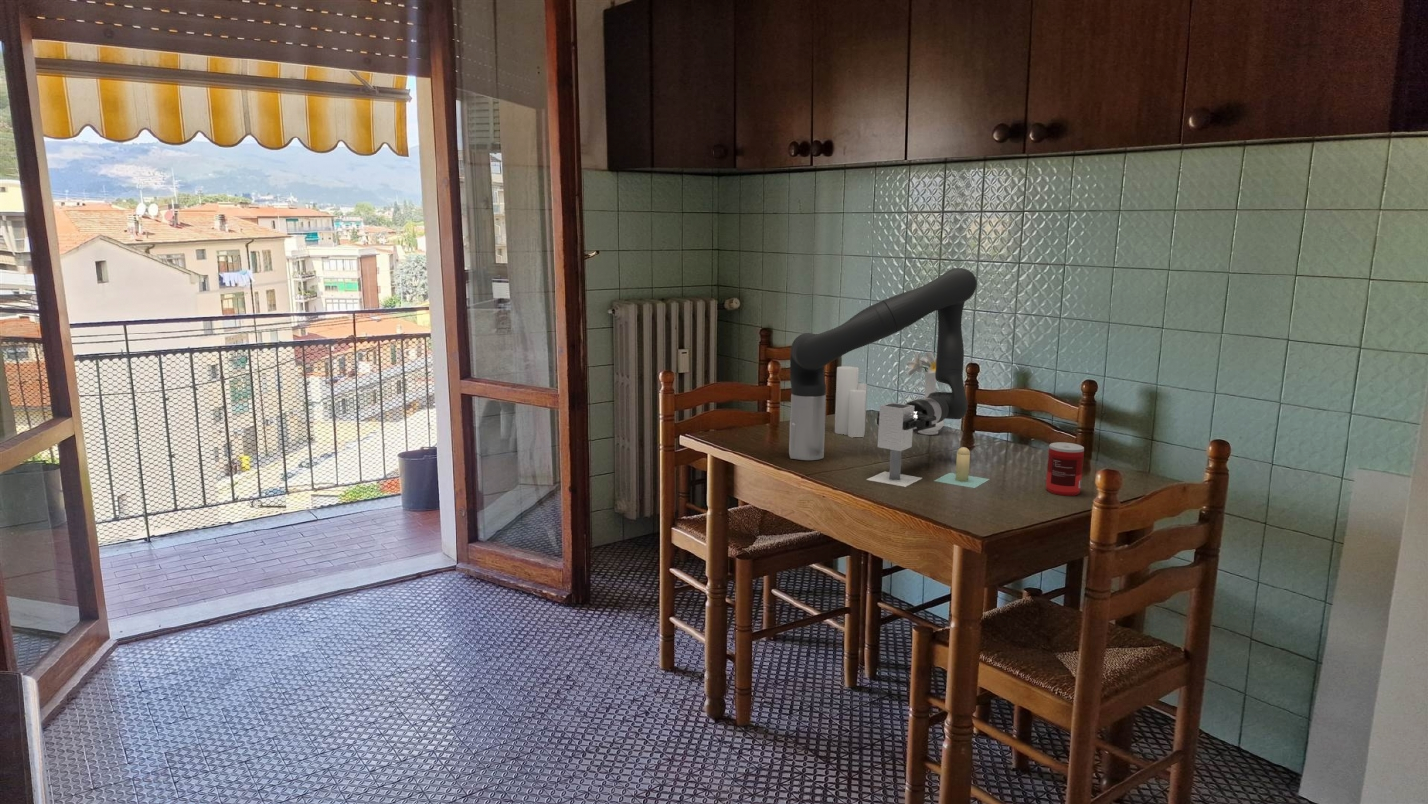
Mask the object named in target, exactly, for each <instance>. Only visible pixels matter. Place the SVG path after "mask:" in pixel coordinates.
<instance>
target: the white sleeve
mask: <svg viewBox="0 0 1428 804" xmlns="http://www.w3.org/2000/svg"><path fill="white" fill-rule="evenodd" d="M905 404H906V403H897V402H888V403H884V404H881V405H880V406H879V412H880V415H879V426H878V431H877V432H878V433H877V434H878V435H877V448H881V449H887V450H897V451H905V450H907V449H910V448H912V447H913V446H912V445H913V432H914V431H913V429H909V430H904V429H903V426H904V421H905V420H908V419H912V418H913V417H914V406H913V405H905Z"/></svg>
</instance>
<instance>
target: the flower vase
mask: <svg viewBox="0 0 1428 804" xmlns="http://www.w3.org/2000/svg"><path fill="white" fill-rule="evenodd" d="M920 355H921V354H920V353H919V352H918V351H915V353H914V356H913V360H908V361H907V362H906V368H907V369H909V370H908V371H907V372H906V375H909V376H913V374H915V373H916V372H918V373H921V372H922V370H923V369H924V371H923V375H924V380H925V386H924V387H925V389H924V390H925V391H924V398H927V397H928V396H929V394H930V393H933V392H936V387H937V386H936V383H937V380H936V378H935V372H936V357H937V355H935V356H934V354H933V353H932V352H931V351H926V356H922V357H921V358H920ZM944 425H945V419H944V420H943V421H941V422H939V423H936V427H933V428H928V429H924V430H920V431H917V434H918V433H919V434H921V435H926V436H932V435H938V434H939V431H940V430H941V429H943V427H944Z"/></svg>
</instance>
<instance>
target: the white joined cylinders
mask: <svg viewBox="0 0 1428 804" xmlns="http://www.w3.org/2000/svg"><path fill="white" fill-rule="evenodd" d="M859 370H860V369H859V367H857V366H849V365H848V366H847V365H846V366H845V365H843V366H837V367H836V382H835V383H836V384H835V385H836V386H835V387H836V388H835V389H836V390H835V409H834V410H835V413H834V417H835V418H834V433H835V434H838V435H843V434H844V435H847V437H849V438H853V437H863V438H864V437H865V433H866V418H867V416H866V412H867V395H868V394H867V392H868V391H867V388H868V384H867V383H866V382H865V383H863V382H859V372H860V371H859ZM844 435H843V436H844Z"/></svg>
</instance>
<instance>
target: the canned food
mask: <svg viewBox="0 0 1428 804" xmlns="http://www.w3.org/2000/svg"><path fill="white" fill-rule="evenodd" d="M1084 456H1085V447H1084V446H1082V445H1081V444H1078V443H1072V442H1064V441H1063V442H1060V441H1059V442H1058V441H1057V442H1052V443H1050V444H1049V445H1048V455H1047V466H1046V467H1047V468H1046V480H1045V481H1046V483H1045V488H1046V490H1047V491H1048V493H1051V494H1054V495H1058V496H1066V497H1068V496H1069V497H1071V496H1073V497H1074V496H1077V495H1079V494H1080V493H1081V487H1082V478H1083V468H1084V458H1085V457H1084Z"/></svg>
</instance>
